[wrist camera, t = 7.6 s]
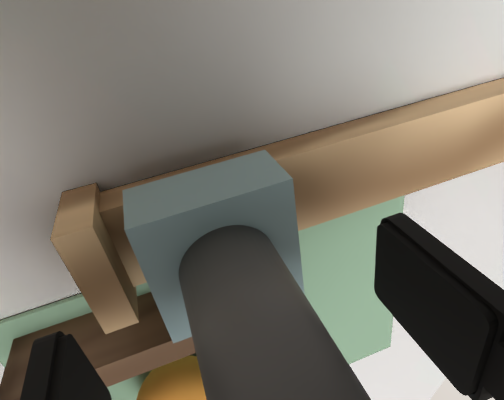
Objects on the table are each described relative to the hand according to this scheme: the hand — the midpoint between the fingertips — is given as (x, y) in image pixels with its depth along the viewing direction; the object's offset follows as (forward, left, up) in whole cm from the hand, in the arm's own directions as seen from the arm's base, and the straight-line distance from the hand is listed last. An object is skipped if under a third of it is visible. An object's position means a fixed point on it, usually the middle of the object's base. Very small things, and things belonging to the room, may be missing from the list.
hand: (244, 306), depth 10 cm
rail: (0, +7, -6) cm, 9 cm away
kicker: (+4, 0, -6) cm, 7 cm away
